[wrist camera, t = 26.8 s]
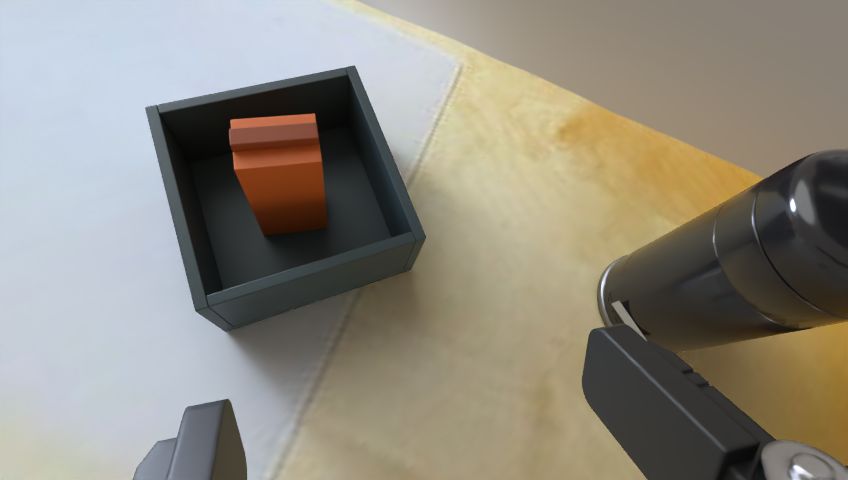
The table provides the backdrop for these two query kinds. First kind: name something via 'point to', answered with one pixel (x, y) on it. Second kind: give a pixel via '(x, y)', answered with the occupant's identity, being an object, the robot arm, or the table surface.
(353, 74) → the bin
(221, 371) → the table surface
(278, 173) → the block
